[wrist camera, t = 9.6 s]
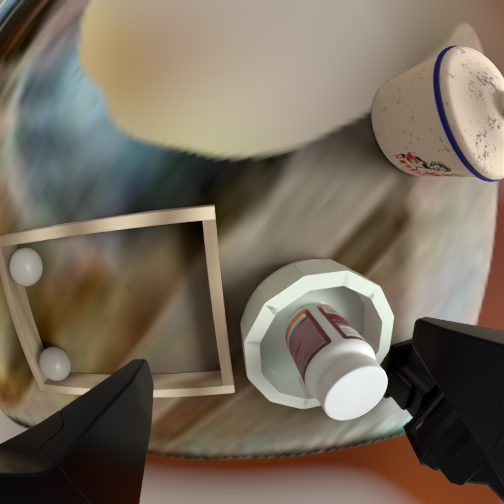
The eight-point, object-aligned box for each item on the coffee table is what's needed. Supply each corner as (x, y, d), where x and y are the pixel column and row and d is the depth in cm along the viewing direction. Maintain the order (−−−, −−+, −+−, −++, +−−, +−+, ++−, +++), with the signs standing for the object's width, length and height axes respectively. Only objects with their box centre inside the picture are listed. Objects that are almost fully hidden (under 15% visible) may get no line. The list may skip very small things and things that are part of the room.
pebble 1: (45, 242, 19) (25, 249, 16) (52, 278, 20) (34, 290, 17) (19, 246, 19) (-1, 253, 16) (26, 280, 19) (7, 292, 16)
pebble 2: (69, 341, 21) (55, 358, 18) (79, 369, 21) (68, 388, 19) (44, 340, 20) (28, 356, 18) (54, 368, 21) (41, 386, 18)
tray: (214, 204, 20) (214, 206, 18) (232, 376, 23) (234, 392, 21) (8, 233, 18) (-7, 238, 16) (49, 377, 21) (40, 390, 19)
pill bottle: (290, 362, 23) (322, 436, 14) (277, 313, 21) (310, 381, 13) (344, 343, 23) (393, 405, 15) (336, 293, 22) (393, 347, 14)
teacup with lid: (375, 181, 21) (491, 186, 10) (356, 72, 19) (450, 11, 8) (469, 176, 22) (564, 183, 11) (455, 87, 20) (543, 65, 9)
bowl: (372, 251, 22) (398, 263, 19) (363, 366, 25) (381, 389, 21) (234, 266, 21) (238, 282, 17) (246, 388, 24) (251, 417, 20)
